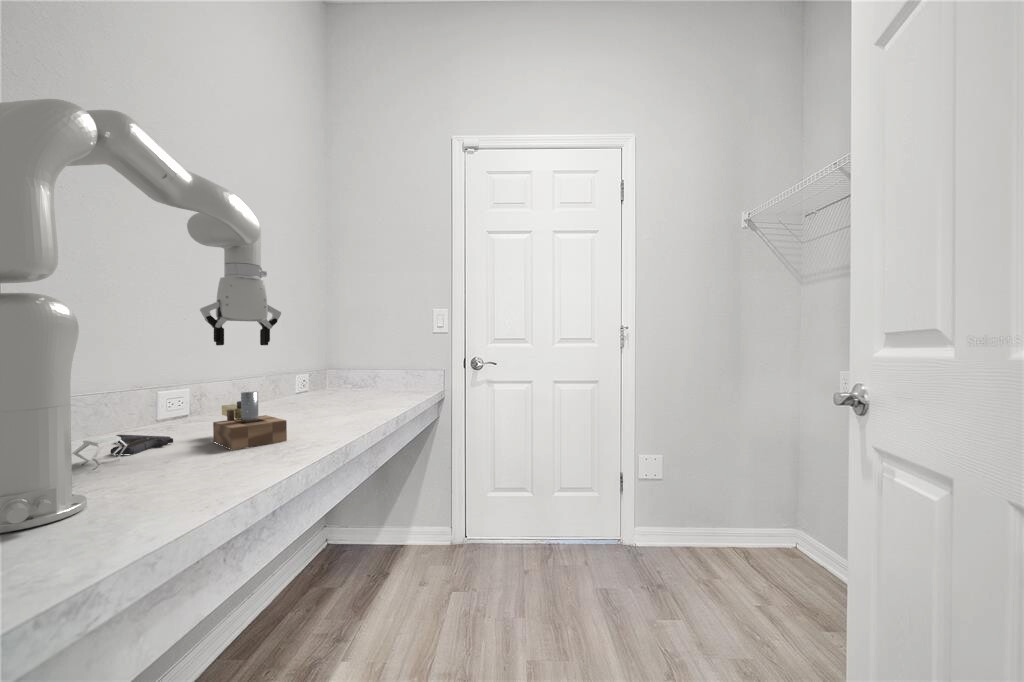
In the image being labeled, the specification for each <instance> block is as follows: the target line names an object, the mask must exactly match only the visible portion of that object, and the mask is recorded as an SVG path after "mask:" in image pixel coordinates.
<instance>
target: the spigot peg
mask: <svg viewBox="0 0 1024 682" xmlns="http://www.w3.org/2000/svg"><path fill="white" fill-rule="evenodd" d="M240 401H241V418H240V419H241V424H247V423H255V422H258V416H259V391H242V392H240Z"/></svg>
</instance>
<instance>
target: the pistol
mask: <svg viewBox="0 0 1024 682" xmlns="http://www.w3.org/2000/svg"><path fill="white" fill-rule="evenodd" d="M116 436H119V437H121V440H122V441H123V442H124V443H125V444H126V445H127V447H126V448H125V450H124V451H123V452H122V454H132V455H134V453H135V454H137V452H138V453H140V451H141V452H143V451H146V450H149V449H152V448H151V447H155V448H158V447H157V446H161V447H164V446H167V444H168V443H170V444H174V438H172V437H171V436H163V435H144V434H143V435H140V434H139V435H138V434H116ZM117 442H119V444H120V445H121V446H122V448H121V449H120V450H119V451H117V452H116V453H115V454H120V453H121V451H122V449H123V448H124V446H125V445H124V444H121V442H120V441H117ZM168 445H169V444H168ZM118 448H119V446H118V445H117V446H114V447H112V448H111V449H110V454H111V455H112V454H113V453H114V452H115V451H116V450H117V449H118ZM148 448H149V449H148Z"/></svg>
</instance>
